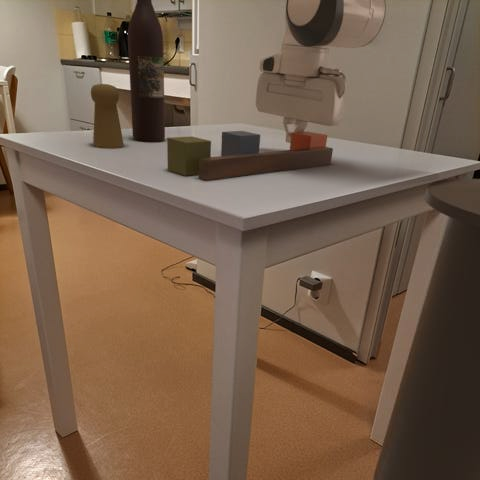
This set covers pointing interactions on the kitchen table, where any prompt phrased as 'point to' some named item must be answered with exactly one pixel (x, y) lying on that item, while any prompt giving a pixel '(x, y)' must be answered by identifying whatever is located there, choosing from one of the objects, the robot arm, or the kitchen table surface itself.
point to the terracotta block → (307, 140)
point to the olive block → (186, 154)
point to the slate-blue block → (239, 143)
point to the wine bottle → (146, 73)
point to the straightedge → (262, 162)
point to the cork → (106, 117)
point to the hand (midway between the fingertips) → (292, 143)
